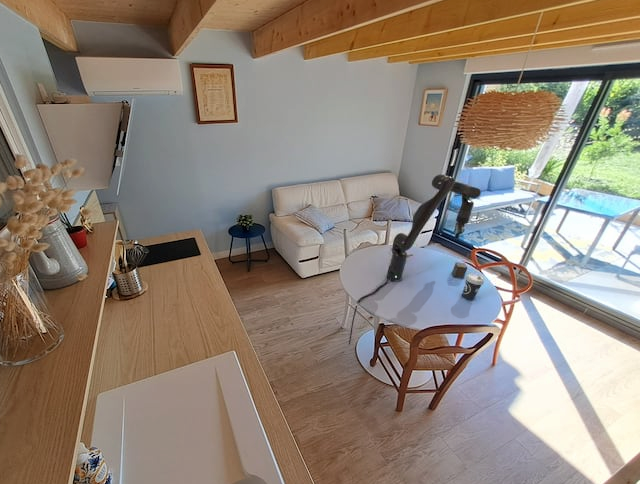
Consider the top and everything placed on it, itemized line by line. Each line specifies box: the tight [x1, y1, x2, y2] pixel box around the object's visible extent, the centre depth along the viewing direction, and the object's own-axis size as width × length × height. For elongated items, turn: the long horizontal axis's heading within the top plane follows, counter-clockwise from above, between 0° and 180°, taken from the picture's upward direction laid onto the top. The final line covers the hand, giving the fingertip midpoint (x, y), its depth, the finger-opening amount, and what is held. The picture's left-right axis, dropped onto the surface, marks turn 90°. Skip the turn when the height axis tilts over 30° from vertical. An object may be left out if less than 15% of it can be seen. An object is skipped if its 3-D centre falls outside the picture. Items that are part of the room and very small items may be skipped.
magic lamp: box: [388, 247, 414, 259], centre depth 217 cm, size 7×18×11 cm, turn 77°
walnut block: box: [451, 261, 468, 279], centre depth 200 cm, size 6×6×9 cm
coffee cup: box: [461, 273, 485, 301], centre depth 177 cm, size 10×10×15 cm
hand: (456, 237), depth 205 cm, fingers closed
